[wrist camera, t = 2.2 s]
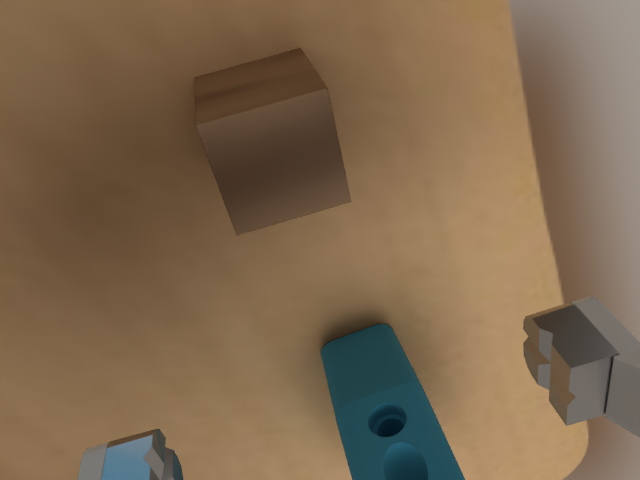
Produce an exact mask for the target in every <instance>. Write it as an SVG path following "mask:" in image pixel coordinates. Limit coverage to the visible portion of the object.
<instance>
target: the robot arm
mask: <svg viewBox="0 0 640 480" xmlns="http://www.w3.org/2000/svg"><path fill="white" fill-rule="evenodd" d="M523 329H524V331H525V332H526V334H527V335H528V338H527V339H526V341H525V342H524V343H523V347H524V357H525V360H526V363H527V367H528V369H529V371H530V373H531V375H532V376H533V378H534V379H535V381H536V382H537V384H538V385H540V386H542V387H544V388H546V389H548V390H549V401H550V403H551V404H552V406H553V407H554V409H555V410H556V412H557V413H558V414H559V416H560V417H561V419H562V420H563V422H564V423H565V425H566V426H567V425H571V424H574V423H578V422H581V421H585V420H588V419H591V418H595V417H599V416H602V415H605V417H606V418H608V419H609V420H611V421H613V422H615V423H616V424H618V425H620V426H621V427H623V428H625V429H626V430H628V431H630V432H632V433H633V434H635V435H636V436H638V437H640V341H639V340H638V339H637V338H636V337H635V336H634V335H633V334H632V333H631V332H630V331H629V330H628V329H627V328H626V327H625V326H624V325H623V324H622V323H621V322H620V321H619V320H618V319H617V318H616V317H615V316H614V315H613V314H612V313H611V312H610V311H609V310H608V309H607V308H606V307H605V306H604V305H603V304H602V303H601V302H600V301H599V299H598V298H595V297H593V296H590V297H587V298H584V299H581V300H577V301H574V302H571V303H569V304H568V303H566V304H563V305H560V306H557V307H554V308H550V309H547V310H544V311H541V312H538V313H535V314H531V315H528V316H526V317H525V319H524V323H523ZM165 439H166V438H165V436H164V435H163V433H162V432H161V431H160V429H154V430H150V431H147V432H143V433H140V434H136V435H132V436H129V437H125V438H121V439H118V440H114V441H111V442H108V443H104V444H101V445H97V446H94V447H90V448H87V449H86V450H85V452H84V454H83V456H82V459H81V464H80V469H79V474H78V479H77V480H183V475H182V469H181V465H180V462H179V460H178V457H177V455H176V454H175V452H174V450H172V449H169V448H166V447H165Z"/></svg>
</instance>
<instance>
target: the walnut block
mask: <svg viewBox="0 0 640 480" xmlns="http://www.w3.org/2000/svg"><path fill="white" fill-rule="evenodd" d="M195 113H196V127H197V130H198V133H199V135H200V138H201V141H202V144H203V146H204V149H205V152H206V154H207V157H208V160H209V162H210V165H211V168H212V171H213V173H214V176H215V179H216V181H217V184H218V187H219V189H220V192H221V195H222V198H223V200H224V203H225V206H226V208H227V211H228V214H229V216H230V219H231V222H232V225H233V227H234V230H235V233H236V235H240V234H243V233H247V232H250V231H253V230H257V229H260V228H264V227H267V226H270V225H274V224H277V223H281V222H284V221H287V220H291V219H294V218H298V217H301V216H304V215H308V214H311V213H315V212H318V211H321V210H325V209H328V208H332V207H335V206H338V205H342V204H345V203H349V202H351V197H350V193H349V188H348V183H347V178H346V174H345V169H344V164H343V160H342V155H341V150H340V145H339V141H338V136H337V131H336V127H335V122H334V117H333V113H332V108H331V103H330V98H329V94H328V89H327V87H326V85H325V84H324V82H323V81H322V79H321V78H320V77H319V75H318V74H317V72H316V71H315V69H314V68H313V66H312V65H311V63H310V62H309V60H308V59H307V57H306V56H305V54H304V53H303V51H302V50H301V48H299V49H295V50H292V51H288V52H285V53H281V54H278V55H274V56H270V57H267V58H263V59H260V60H256V61H253V62H249V63H245V64H242V65H238V66H235V67H231V68H228V69H224V70H220V71H217V72H213V73H210V74H206V75H203V76H199V77H195Z"/></svg>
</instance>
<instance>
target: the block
mask: <svg viewBox="0 0 640 480" xmlns="http://www.w3.org/2000/svg"><path fill="white" fill-rule="evenodd" d="M321 356H322V360H323V365H324V369H325V373H326V378H327V382H328V386H329V391H330V395H331V399H332V404H333V408H334V412H335V417H336V421H337V425H338V429H339V432H340V436H341V440H342V443H343V447H344V451H345V454H346V458H347V462H348V465H349V469H350V473H351V476H352V480H465V478H464V476H463V474H462V472H461V470H460V467H459V465H458V463H457V461H456V459H455V457H454V454H453V452H452V450H451V448H450V446H449V444H448V441H447V439H446V437H445V435H444V433H443V431H442V428H441V426H440V424H439V422H438V420H437V418H436V415H435V413H434V411H433V409H432V407H431V405H430V402H429V400H428V398H427V396H426V394H425V392H424V390H423V388H422V386H421V384H420V382H419V380H418V378H417V376H416V374H415V372H414V370H413V368H412V366H411V364H410V362H409V360H408V358H407V356H406V354H405V352H404V351H403V349H402V347H401V345H400V343H399V341H398V339H397V337H396V335H395V333H394V331H393V329H392V328H391V327H390V326H389V325H387V324H377V325H374V326H371V327H369V328H366V329H363V330H360V331H358V332H355V333H352V334H349V335H347V336H344V337H341V338H338V339H336V340H333V341H330V342H328V343H327V344H326V345H325V346H324V347H323V348H322V350H321Z"/></svg>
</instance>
